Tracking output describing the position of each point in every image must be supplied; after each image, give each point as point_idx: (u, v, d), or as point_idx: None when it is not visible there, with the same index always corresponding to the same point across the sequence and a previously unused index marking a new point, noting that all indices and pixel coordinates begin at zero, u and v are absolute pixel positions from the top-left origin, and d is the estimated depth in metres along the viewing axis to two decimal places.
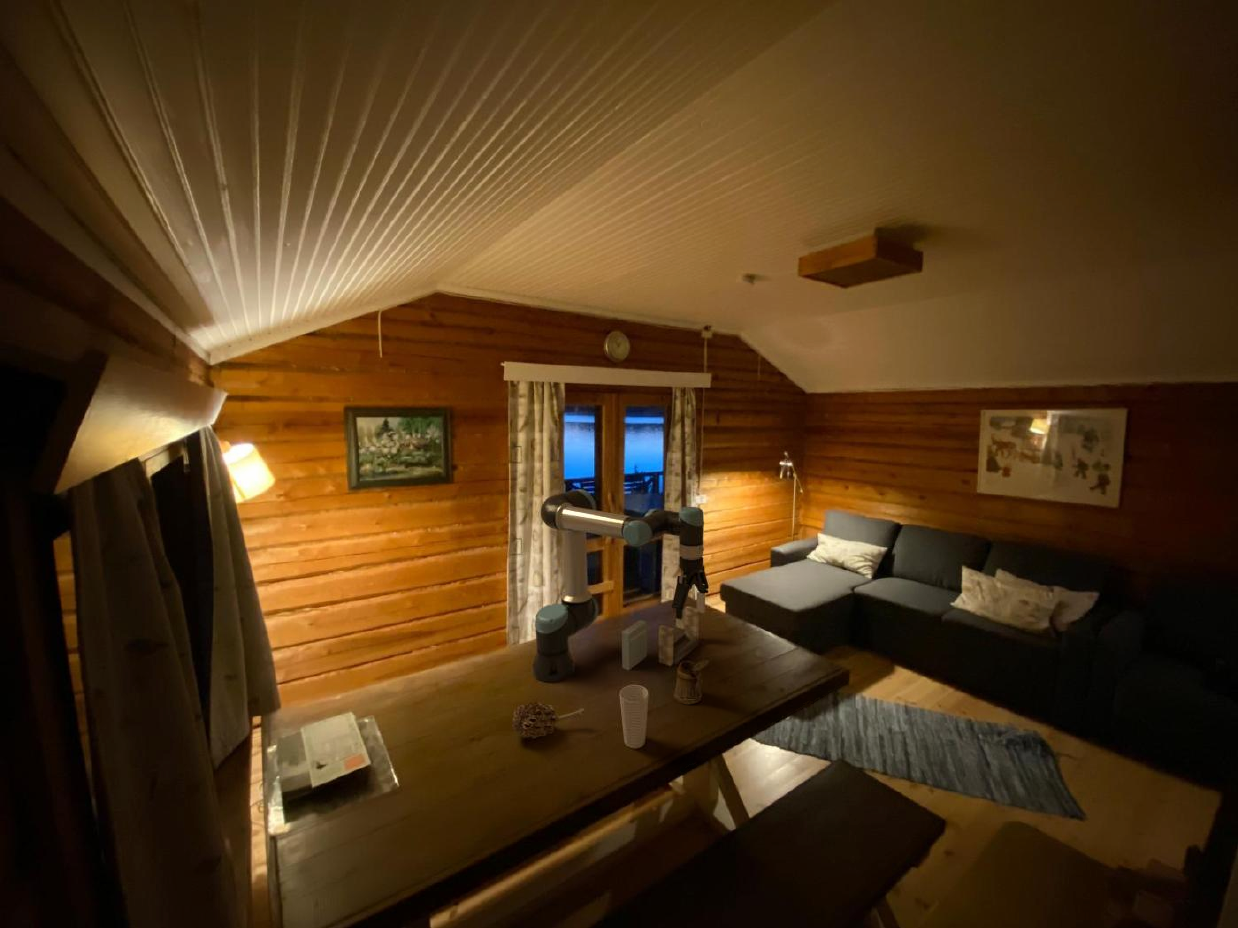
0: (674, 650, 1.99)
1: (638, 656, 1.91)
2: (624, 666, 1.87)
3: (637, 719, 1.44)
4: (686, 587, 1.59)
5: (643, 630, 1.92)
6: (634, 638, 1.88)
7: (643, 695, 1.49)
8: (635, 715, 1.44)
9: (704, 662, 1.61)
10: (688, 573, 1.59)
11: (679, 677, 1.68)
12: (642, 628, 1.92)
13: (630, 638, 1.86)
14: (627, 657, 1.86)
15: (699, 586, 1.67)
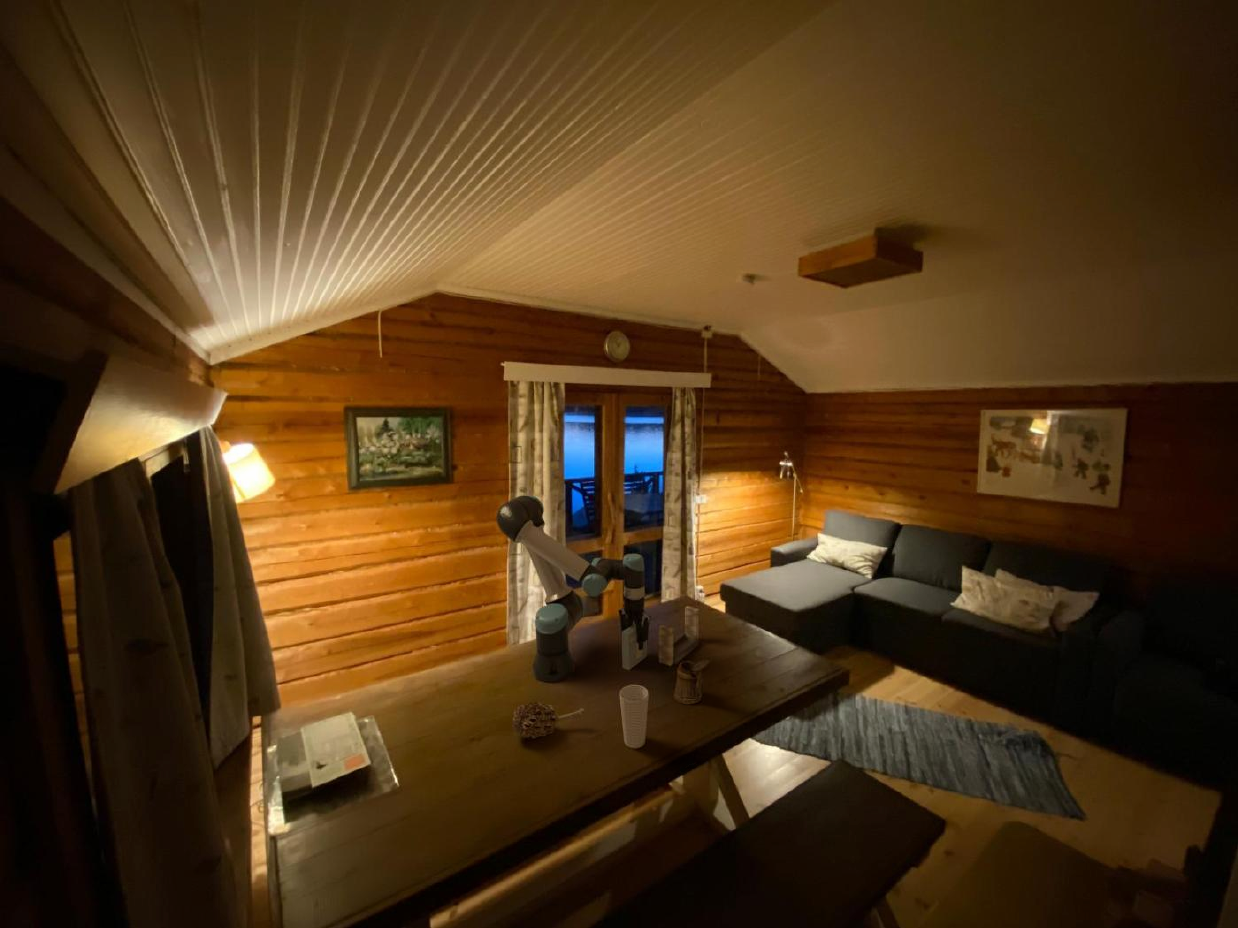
0: (674, 650, 1.99)
1: None
2: (624, 666, 1.87)
3: (637, 719, 1.44)
4: None
5: None
6: (634, 638, 1.88)
7: (643, 695, 1.49)
8: (635, 715, 1.44)
9: (704, 662, 1.61)
10: None
11: (679, 677, 1.68)
12: None
13: (630, 638, 1.86)
14: (627, 657, 1.86)
15: None
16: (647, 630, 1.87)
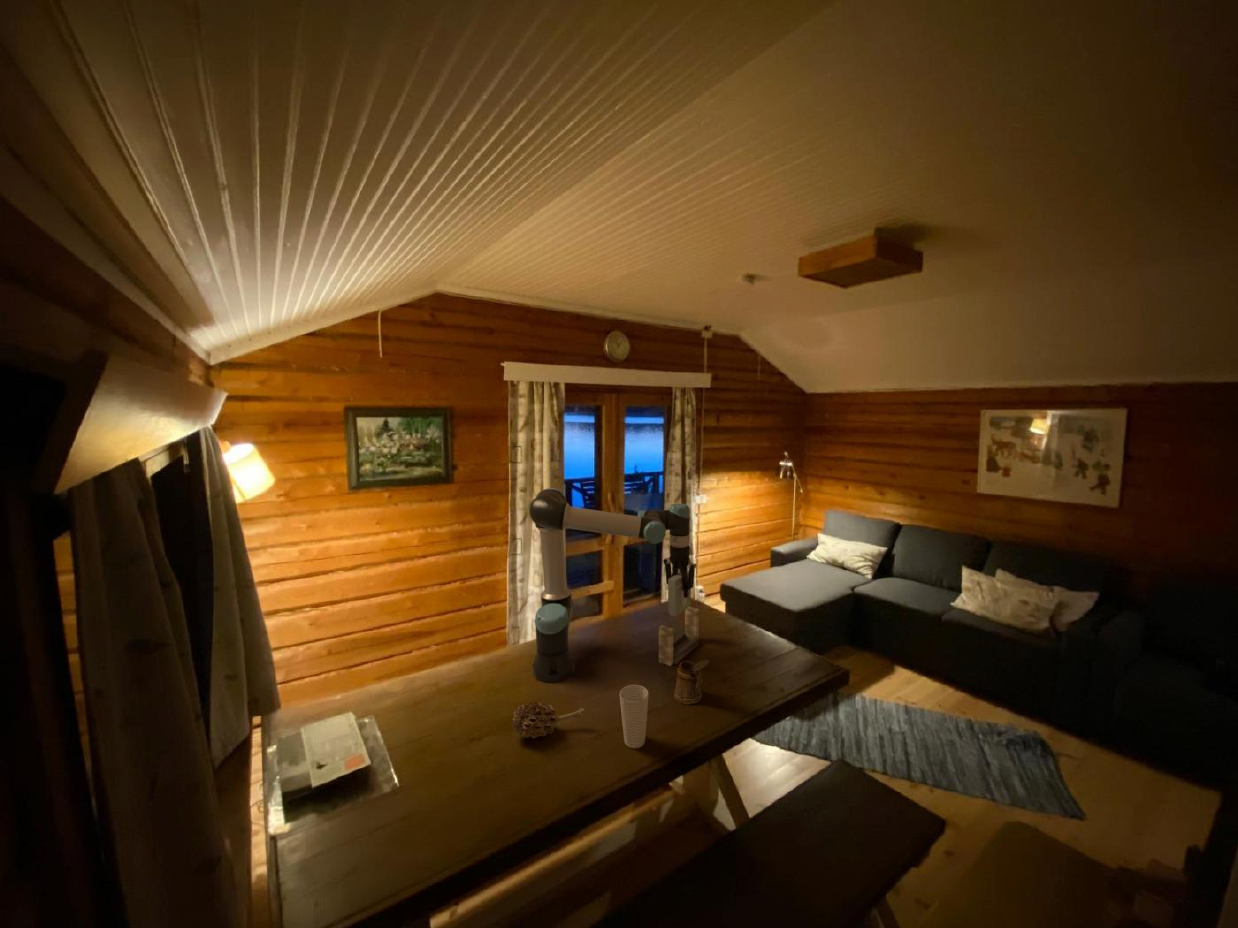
0: (674, 650, 1.99)
1: None
2: (670, 613, 1.92)
3: (637, 719, 1.44)
4: None
5: None
6: (680, 585, 1.92)
7: (643, 695, 1.49)
8: (635, 715, 1.44)
9: (704, 662, 1.61)
10: None
11: (679, 677, 1.68)
12: None
13: (676, 585, 1.90)
14: (673, 603, 1.90)
15: None
16: (693, 578, 1.91)
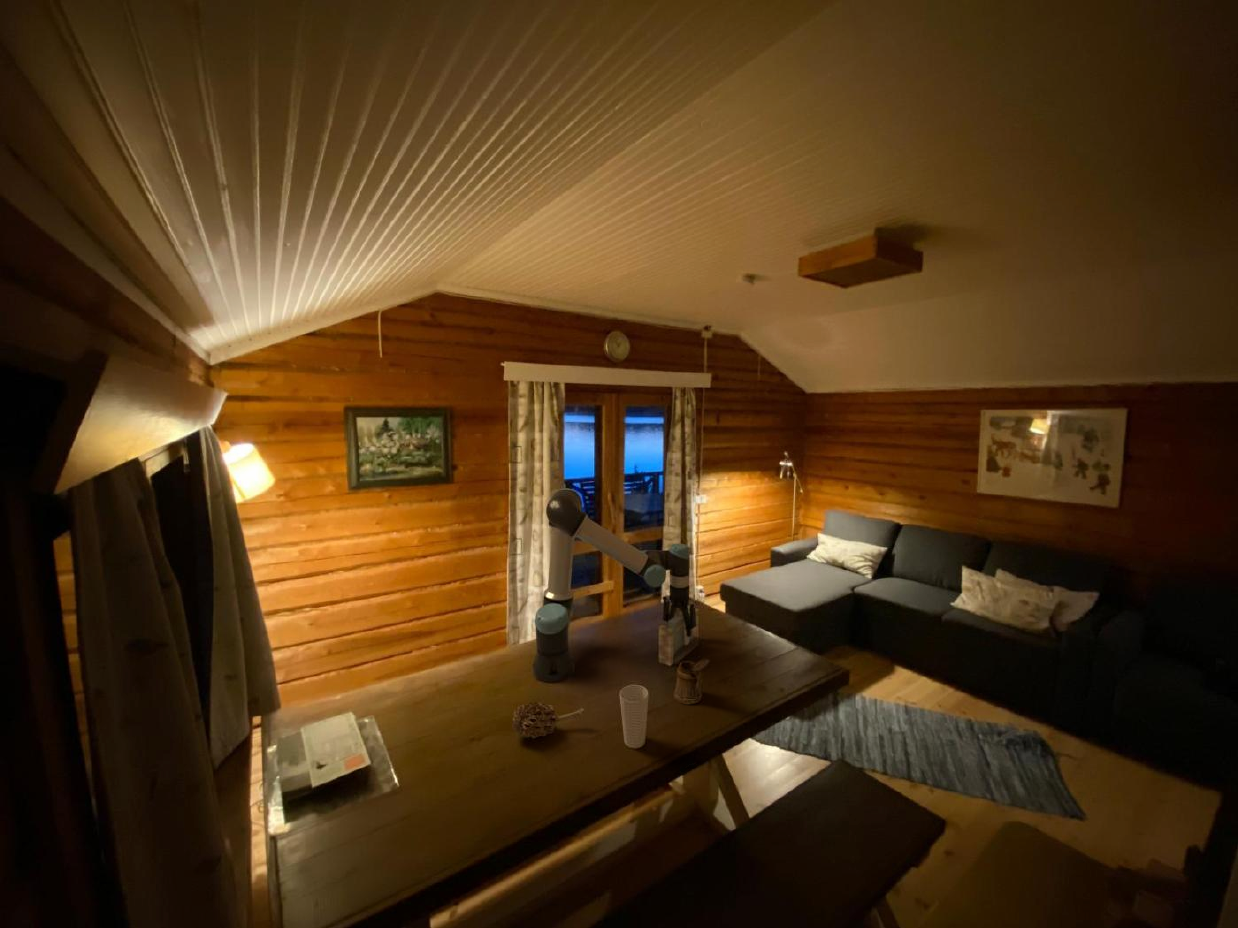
0: None
1: (682, 645, 1.98)
2: None
3: (637, 719, 1.44)
4: None
5: None
6: (679, 627, 1.94)
7: (643, 695, 1.49)
8: (635, 715, 1.44)
9: (704, 662, 1.61)
10: None
11: (679, 677, 1.68)
12: None
13: (676, 627, 1.92)
14: (673, 645, 1.93)
15: None
16: (694, 617, 1.93)
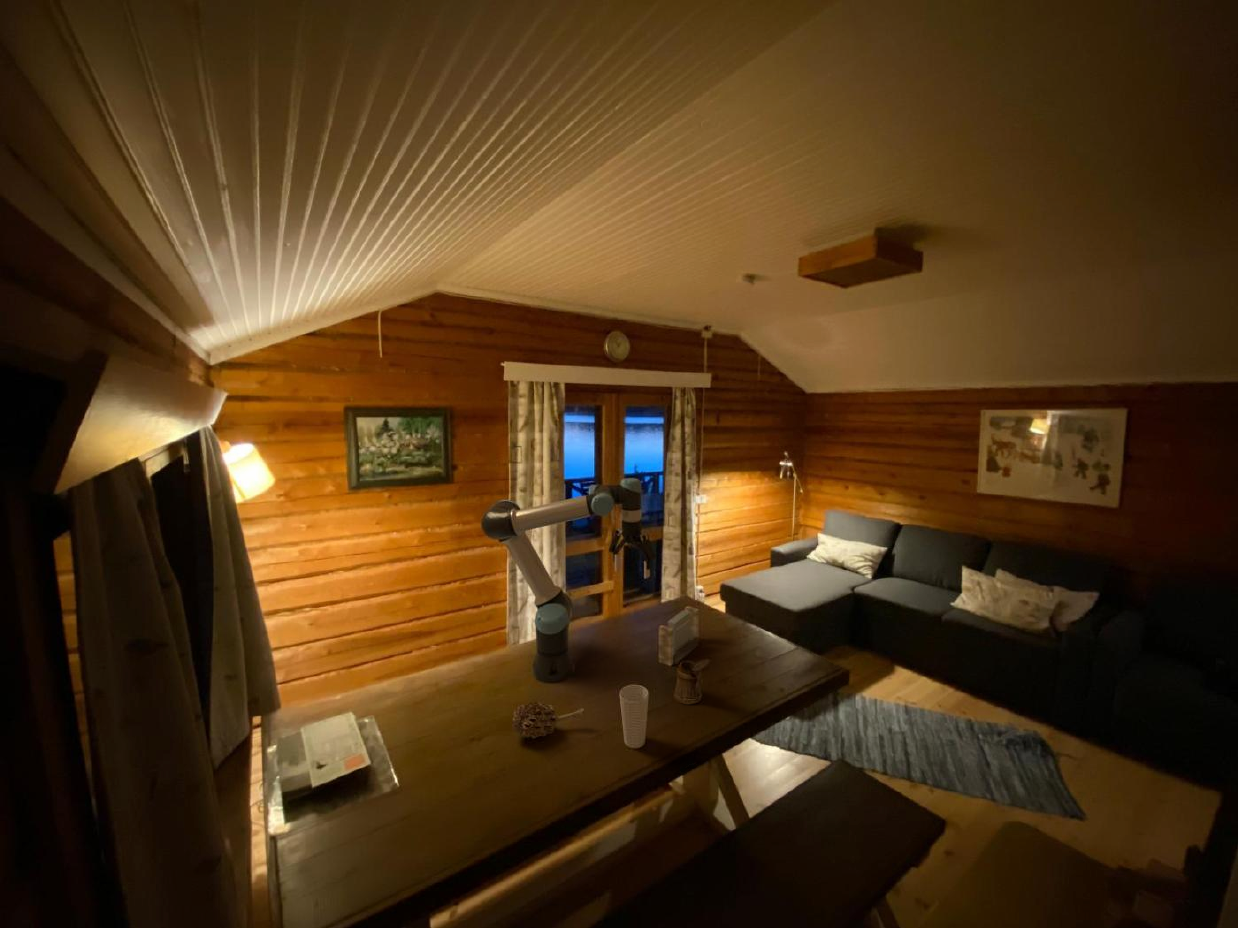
0: None
1: (682, 645, 1.98)
2: None
3: (637, 719, 1.44)
4: None
5: (687, 620, 1.99)
6: (679, 627, 1.94)
7: (643, 695, 1.49)
8: (635, 715, 1.44)
9: (704, 662, 1.61)
10: (622, 530, 1.94)
11: (679, 677, 1.68)
12: (686, 618, 1.99)
13: (676, 627, 1.92)
14: (673, 645, 1.93)
15: None
16: (651, 548, 1.89)
